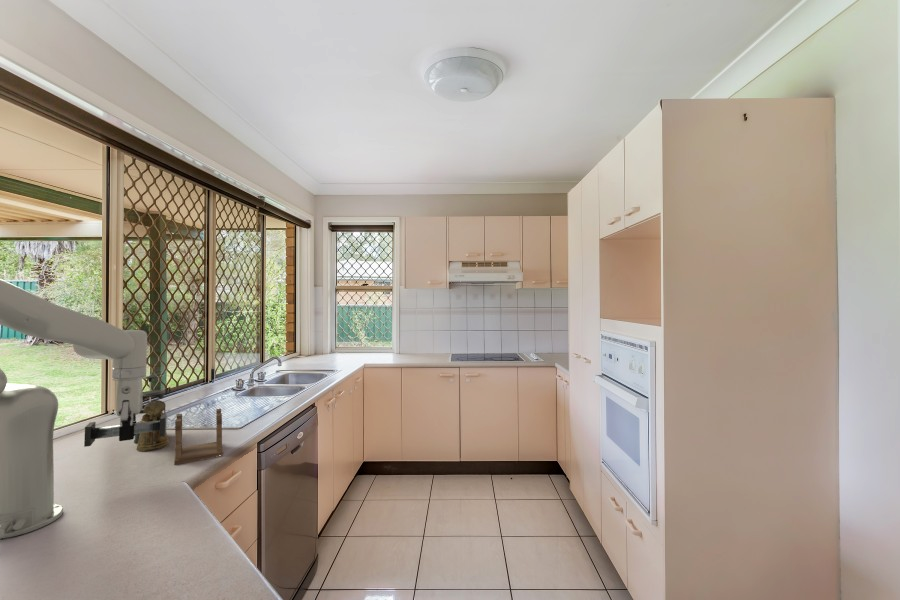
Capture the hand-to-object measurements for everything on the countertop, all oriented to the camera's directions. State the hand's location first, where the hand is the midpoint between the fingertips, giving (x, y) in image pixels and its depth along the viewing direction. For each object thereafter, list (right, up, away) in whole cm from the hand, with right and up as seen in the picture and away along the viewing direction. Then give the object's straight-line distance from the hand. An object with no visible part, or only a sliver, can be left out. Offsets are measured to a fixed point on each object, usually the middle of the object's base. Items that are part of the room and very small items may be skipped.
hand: (127, 437), depth 111 cm
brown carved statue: (-10, -12, +23) cm, 28 cm away
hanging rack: (+9, -12, +18) cm, 23 cm away
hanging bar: (0, 0, 0) cm, 0 cm away
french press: (-18, -12, +32) cm, 39 cm away
